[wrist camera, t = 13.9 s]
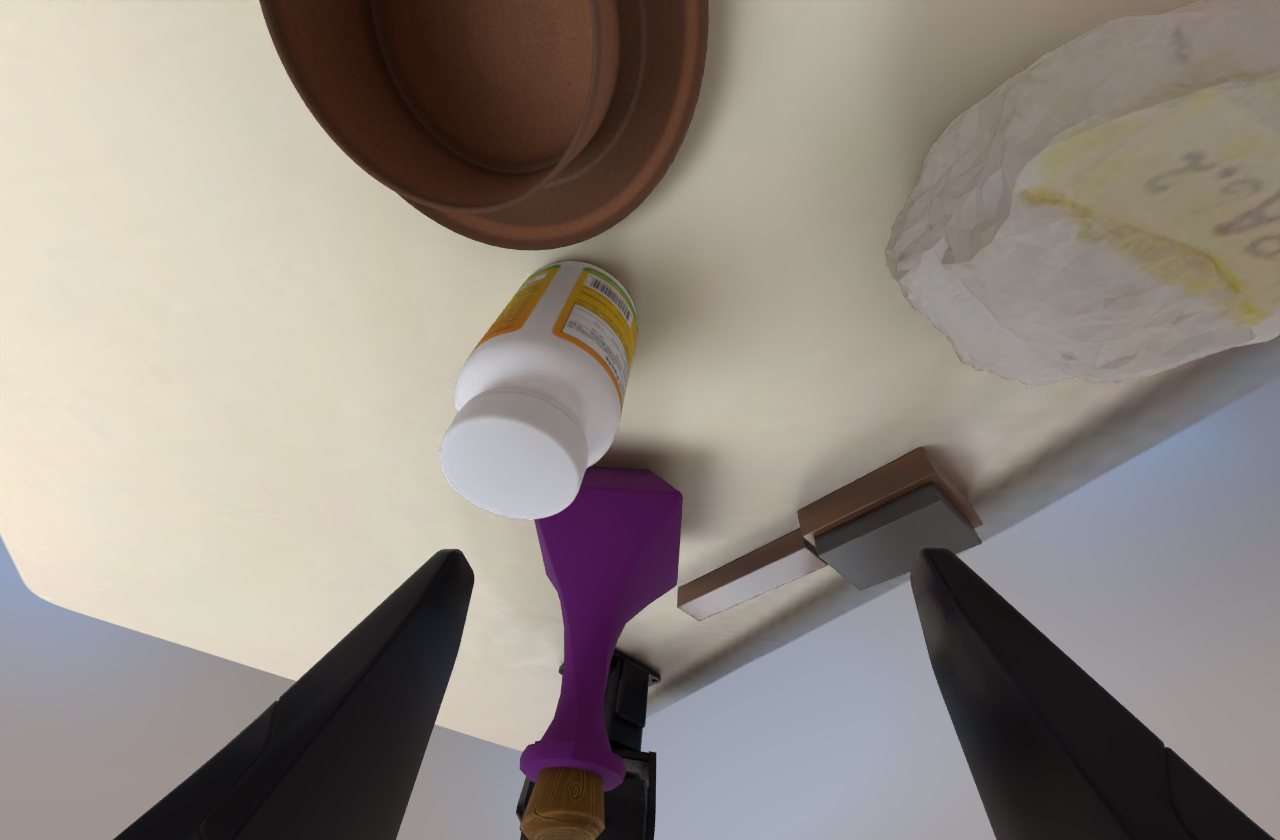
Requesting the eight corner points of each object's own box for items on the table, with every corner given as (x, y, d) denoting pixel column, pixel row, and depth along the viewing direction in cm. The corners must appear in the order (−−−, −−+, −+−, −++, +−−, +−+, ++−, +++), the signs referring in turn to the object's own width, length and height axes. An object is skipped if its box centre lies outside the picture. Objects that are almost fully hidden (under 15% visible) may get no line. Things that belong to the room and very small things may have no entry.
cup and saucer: (316, 141, 17) (170, 177, 13) (325, -431, 10) (-6, -855, 5) (615, 285, 20) (588, 362, 15) (790, -104, 13) (848, -201, 8)
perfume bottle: (678, 539, 29) (660, 994, 15) (560, 531, 30) (435, 960, 16) (684, 448, 25) (666, 977, 11) (544, 440, 25) (350, 930, 11)
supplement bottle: (522, 364, 23) (432, 525, 15) (512, 250, 19) (388, 382, 12) (635, 377, 22) (602, 547, 15) (644, 265, 19) (608, 408, 11)
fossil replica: (1117, 345, 19) (1310, 31, 14) (1381, 477, 12) (1978, -50, 7) (821, 338, 19) (899, 21, 14) (918, 466, 12) (1149, -69, 7)
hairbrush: (711, 610, 34) (712, 652, 31) (663, 579, 32) (661, 621, 30) (967, 497, 25) (995, 544, 23) (921, 446, 23) (946, 491, 21)
